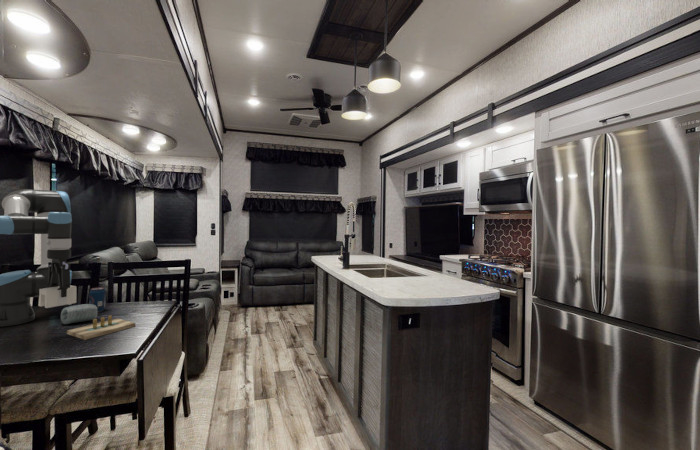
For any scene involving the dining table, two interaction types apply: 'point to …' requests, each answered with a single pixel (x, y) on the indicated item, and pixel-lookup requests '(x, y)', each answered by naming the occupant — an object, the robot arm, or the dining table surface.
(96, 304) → the soda can
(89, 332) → the wooden peg board
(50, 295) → the white block
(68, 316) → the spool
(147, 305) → the dining table surface
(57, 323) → the dining table surface
